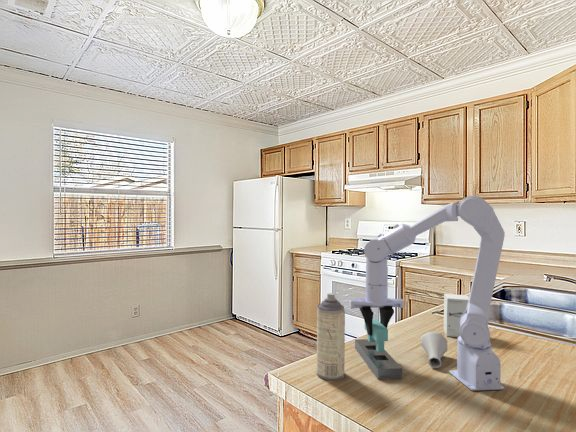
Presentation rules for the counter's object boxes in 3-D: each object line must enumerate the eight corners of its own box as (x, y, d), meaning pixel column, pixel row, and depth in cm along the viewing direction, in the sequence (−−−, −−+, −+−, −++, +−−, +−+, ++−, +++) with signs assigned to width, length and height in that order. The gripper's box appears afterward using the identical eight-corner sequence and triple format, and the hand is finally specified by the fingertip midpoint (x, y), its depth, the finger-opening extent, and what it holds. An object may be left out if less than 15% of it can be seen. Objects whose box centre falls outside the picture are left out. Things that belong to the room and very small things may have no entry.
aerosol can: (349, 377, 88) (350, 295, 87) (325, 382, 85) (326, 298, 84) (334, 366, 94) (335, 289, 94) (311, 371, 91) (312, 292, 91)
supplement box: (446, 336, 116) (446, 297, 116) (443, 329, 123) (443, 293, 123) (471, 339, 114) (471, 299, 114) (466, 331, 121) (467, 294, 121)
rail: (402, 378, 87) (402, 368, 87) (377, 379, 87) (378, 369, 86) (374, 347, 107) (374, 339, 107) (354, 348, 106) (354, 339, 106)
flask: (443, 328, 100) (444, 348, 91) (451, 352, 101) (454, 373, 91) (416, 333, 103) (416, 352, 94) (425, 355, 103) (425, 377, 94)
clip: (387, 352, 92) (388, 329, 92) (376, 353, 92) (376, 329, 92) (374, 339, 102) (375, 318, 102) (364, 339, 102) (364, 318, 102)
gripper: (396, 280, 101) (396, 328, 101) (346, 281, 100) (345, 329, 100) (407, 285, 94) (406, 337, 94) (353, 286, 93) (352, 338, 93)
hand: (376, 334), depth 97 cm, fingers closed on clip, 3 cm apart
